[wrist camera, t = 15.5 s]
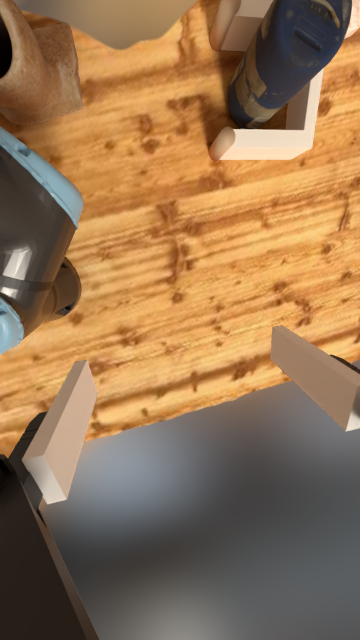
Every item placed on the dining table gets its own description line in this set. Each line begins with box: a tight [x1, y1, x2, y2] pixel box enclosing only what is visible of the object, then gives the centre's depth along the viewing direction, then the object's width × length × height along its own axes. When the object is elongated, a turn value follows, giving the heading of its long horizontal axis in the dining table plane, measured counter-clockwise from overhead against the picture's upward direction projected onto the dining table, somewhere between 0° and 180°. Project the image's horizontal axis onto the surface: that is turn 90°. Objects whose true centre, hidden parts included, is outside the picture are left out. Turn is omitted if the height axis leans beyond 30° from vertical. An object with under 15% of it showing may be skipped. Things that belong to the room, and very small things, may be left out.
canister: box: [228, 0, 352, 129], centre depth 31 cm, size 10×10×18 cm
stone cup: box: [0, 0, 83, 125], centre depth 28 cm, size 15×12×15 cm
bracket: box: [209, 0, 324, 161], centre depth 36 cm, size 17×18×6 cm
